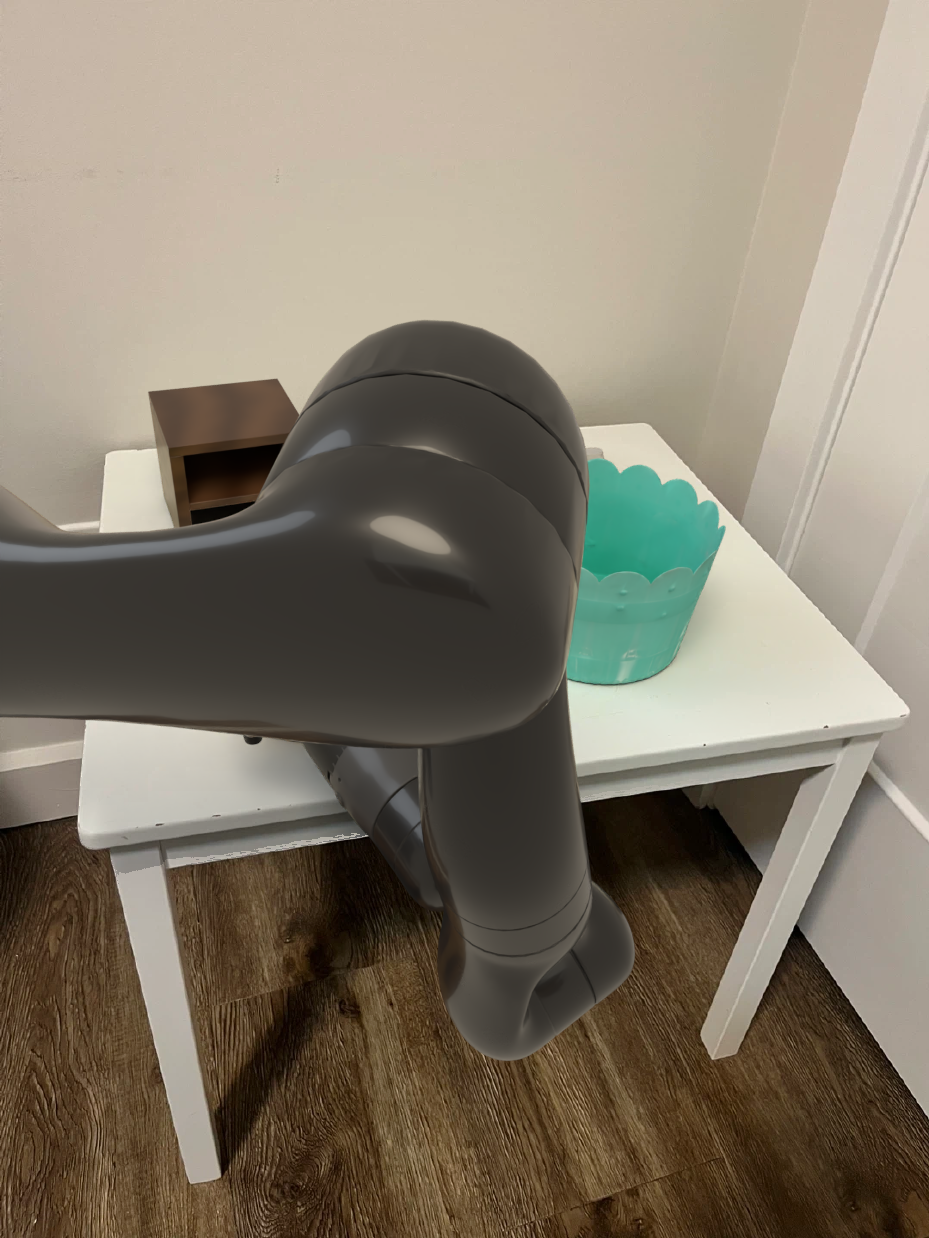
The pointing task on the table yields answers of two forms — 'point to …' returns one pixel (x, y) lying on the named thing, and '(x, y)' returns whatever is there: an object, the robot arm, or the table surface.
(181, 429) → the shelf
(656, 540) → the basket
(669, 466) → the table surface
